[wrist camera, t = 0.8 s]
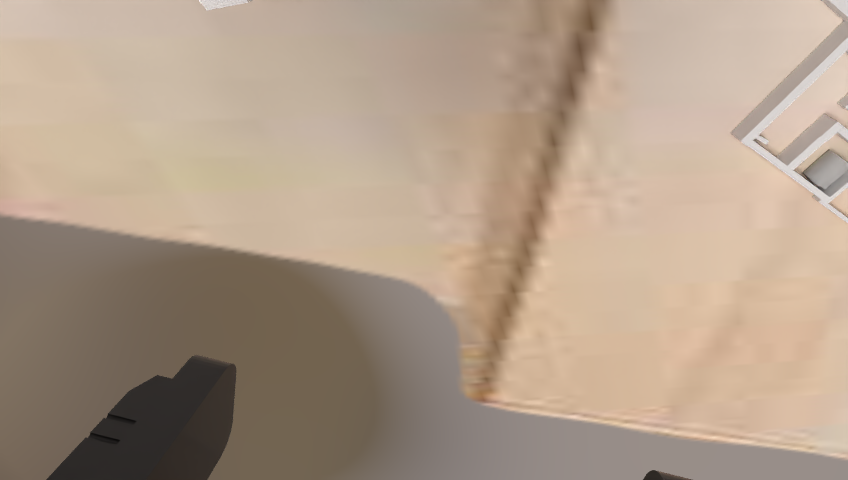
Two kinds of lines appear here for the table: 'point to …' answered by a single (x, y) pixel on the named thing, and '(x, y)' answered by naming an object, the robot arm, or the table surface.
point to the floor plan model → (829, 167)
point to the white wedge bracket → (221, 3)
